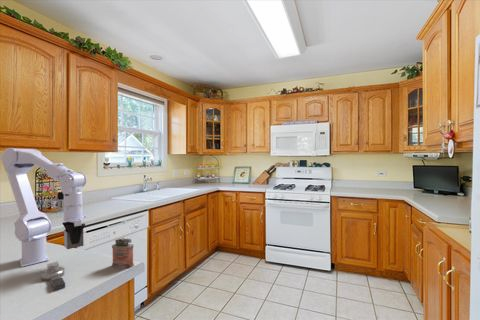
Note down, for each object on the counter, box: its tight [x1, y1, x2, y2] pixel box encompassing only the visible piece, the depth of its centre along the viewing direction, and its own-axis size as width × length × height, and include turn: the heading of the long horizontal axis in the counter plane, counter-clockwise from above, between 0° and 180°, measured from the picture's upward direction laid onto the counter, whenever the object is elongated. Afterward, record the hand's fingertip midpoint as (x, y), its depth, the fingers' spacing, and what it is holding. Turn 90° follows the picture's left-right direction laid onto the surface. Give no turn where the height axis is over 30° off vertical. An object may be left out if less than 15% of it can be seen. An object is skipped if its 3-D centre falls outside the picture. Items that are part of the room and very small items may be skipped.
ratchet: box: [41, 261, 66, 292], centre depth 76 cm, size 15×6×4 cm, turn 45°
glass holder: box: [50, 191, 64, 213], centre depth 184 cm, size 9×14×15 cm, turn 166°
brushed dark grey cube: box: [63, 229, 85, 250], centre depth 89 cm, size 5×5×6 cm
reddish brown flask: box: [111, 237, 135, 269], centre depth 87 cm, size 8×3×10 cm, turn 80°
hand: (73, 241), depth 89 cm, fingers closed on brushed dark grey cube, 5 cm apart
